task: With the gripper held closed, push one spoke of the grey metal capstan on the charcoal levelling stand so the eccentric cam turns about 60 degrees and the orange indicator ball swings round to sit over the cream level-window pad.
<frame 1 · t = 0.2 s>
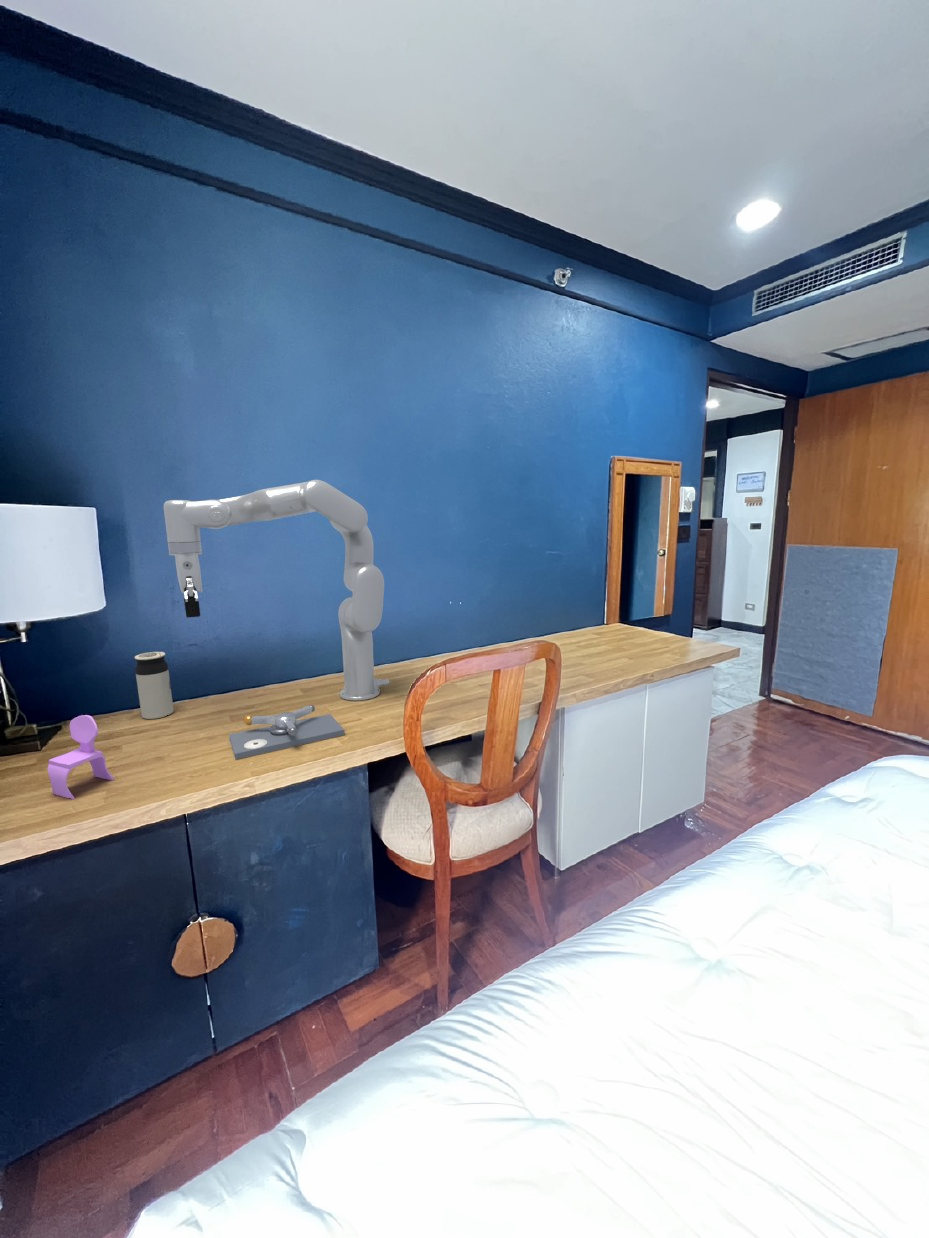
hand: (192, 614, 132), 31 cm above the table, tool pointing down, fingers open, 9 cm apart
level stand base: (287, 737, 128), on the table
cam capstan: (275, 722, 128), point 4 cm above the table, hinge at 0.0°
travel mug: (158, 715, 145), on the table
toy chair: (83, 788, 104), on the table
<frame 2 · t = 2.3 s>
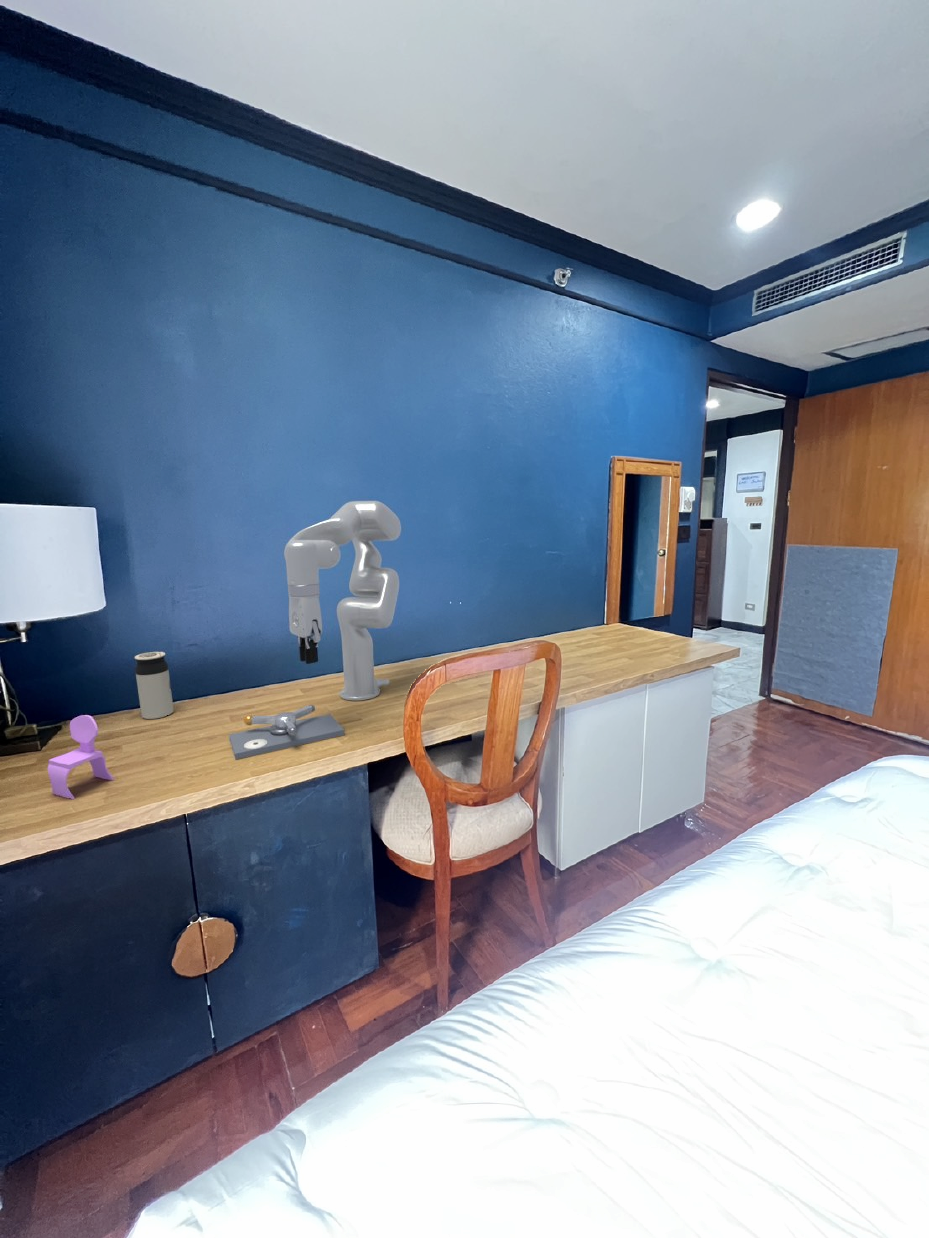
hand: (309, 661, 128), 19 cm above the table, tool pointing down, fingers closed
nothing on the table moved.
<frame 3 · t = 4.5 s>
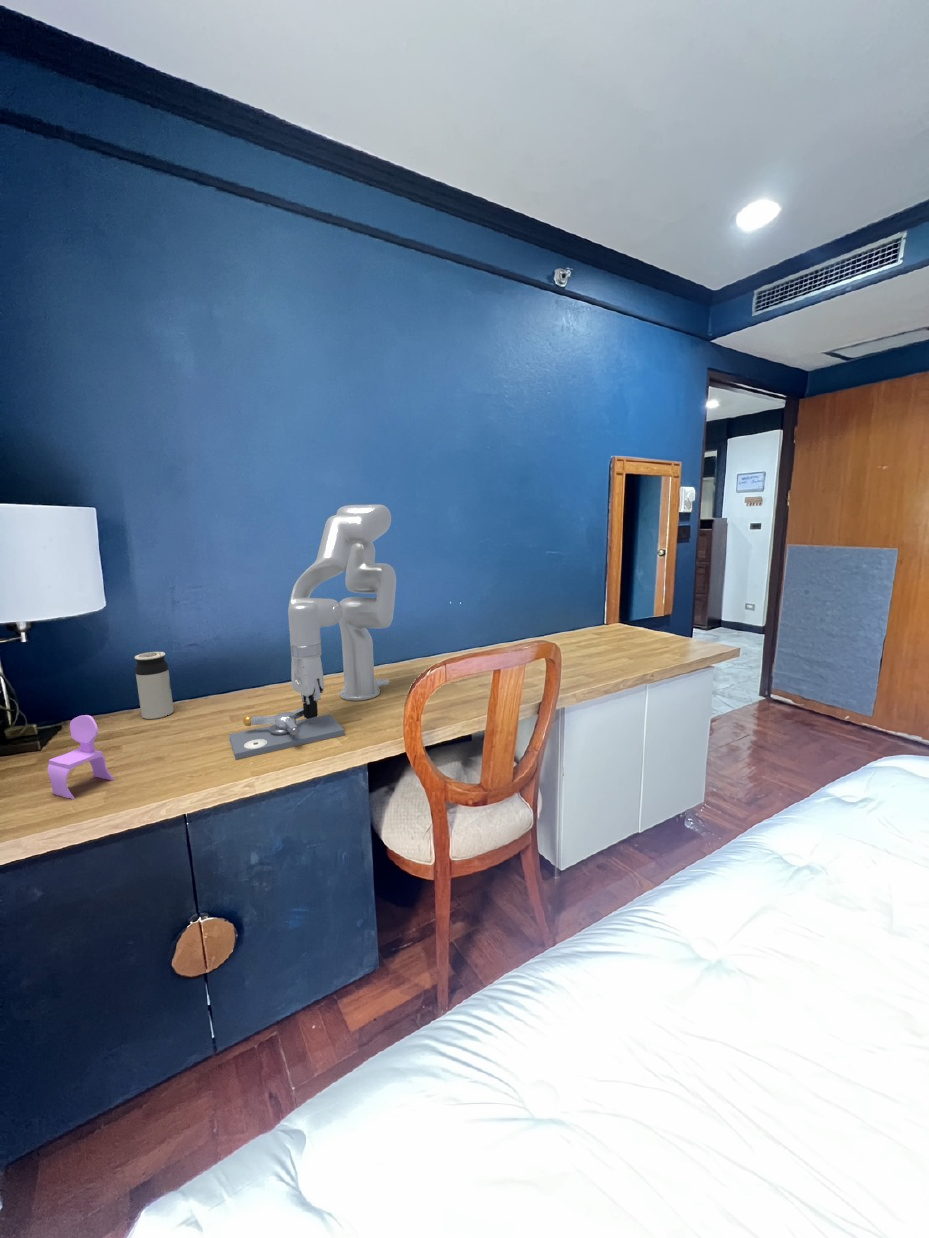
hand: (310, 716, 132), 3 cm above the table, tool pointing down, fingers closed
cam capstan: (275, 722, 128), point 4 cm above the table, hinge at 3.1°, touching gripper
everything else where it was.
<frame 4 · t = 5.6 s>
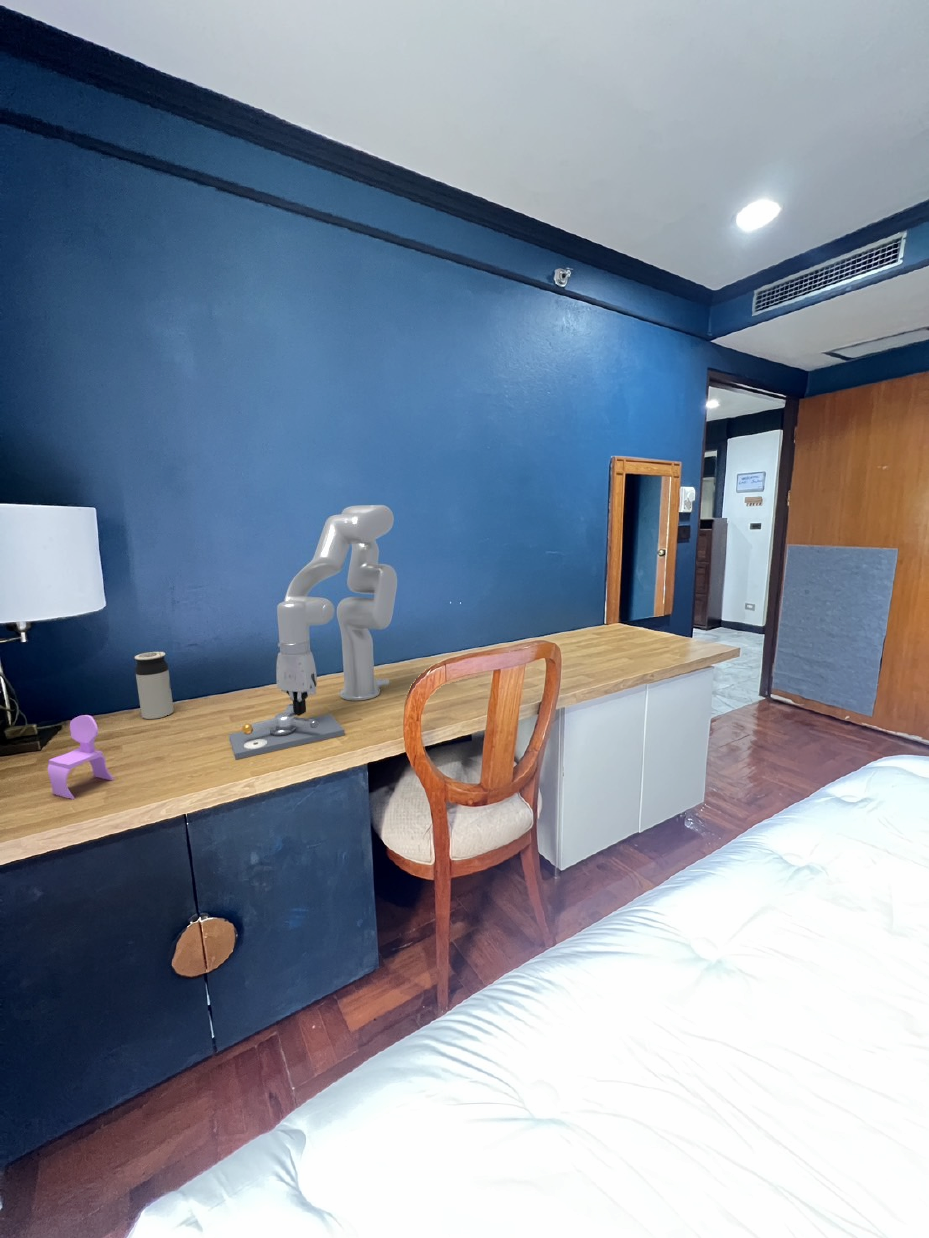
hand: (300, 713, 134), 4 cm above the table, tool pointing down, fingers closed
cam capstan: (275, 724, 126), point 4 cm above the table, hinge at 38.8°, touching gripper
everything else where it was.
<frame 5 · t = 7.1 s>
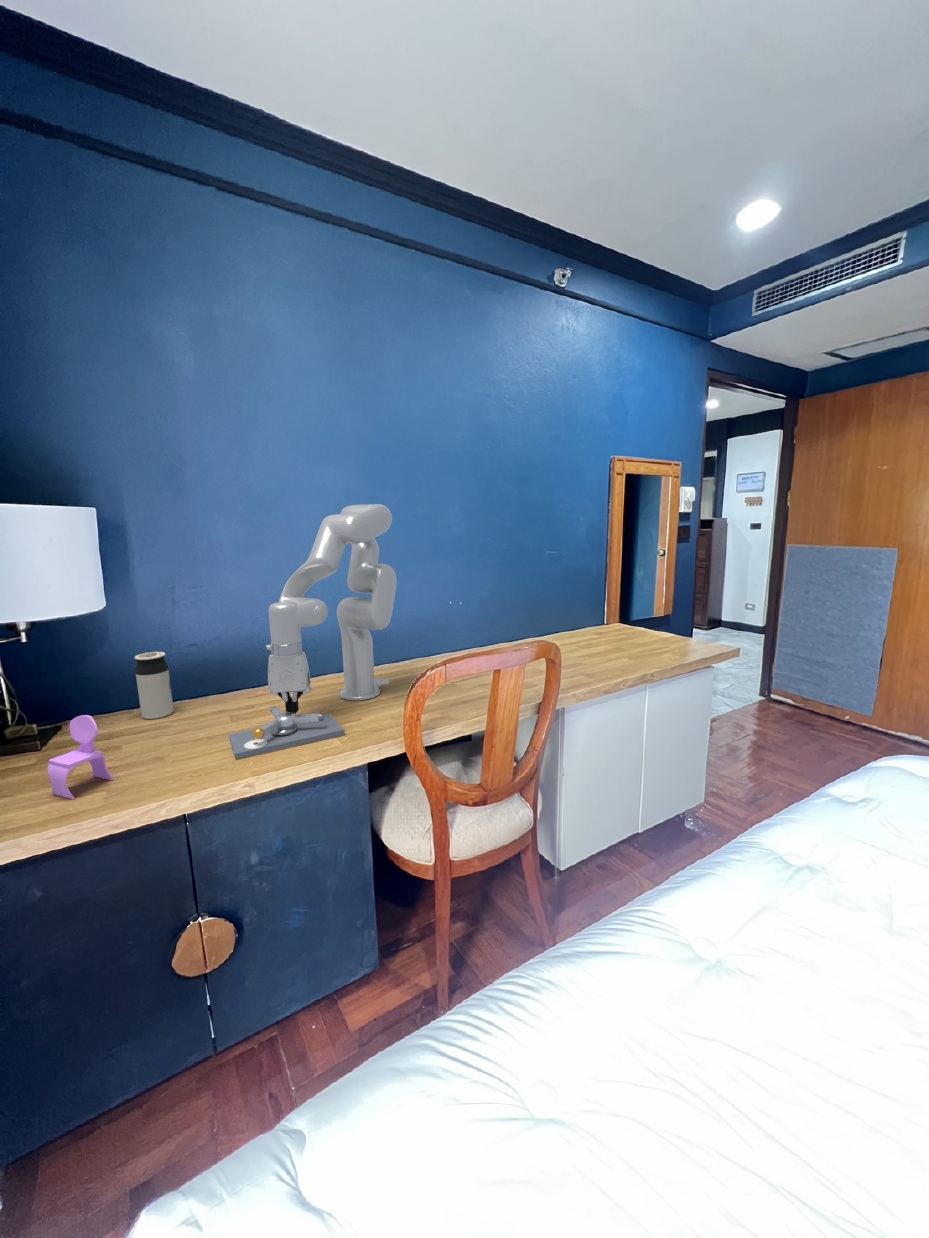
hand: (292, 713, 135), 3 cm above the table, tool pointing down, fingers closed
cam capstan: (278, 725, 126), point 4 cm above the table, hinge at 67.9°
everything else where it was.
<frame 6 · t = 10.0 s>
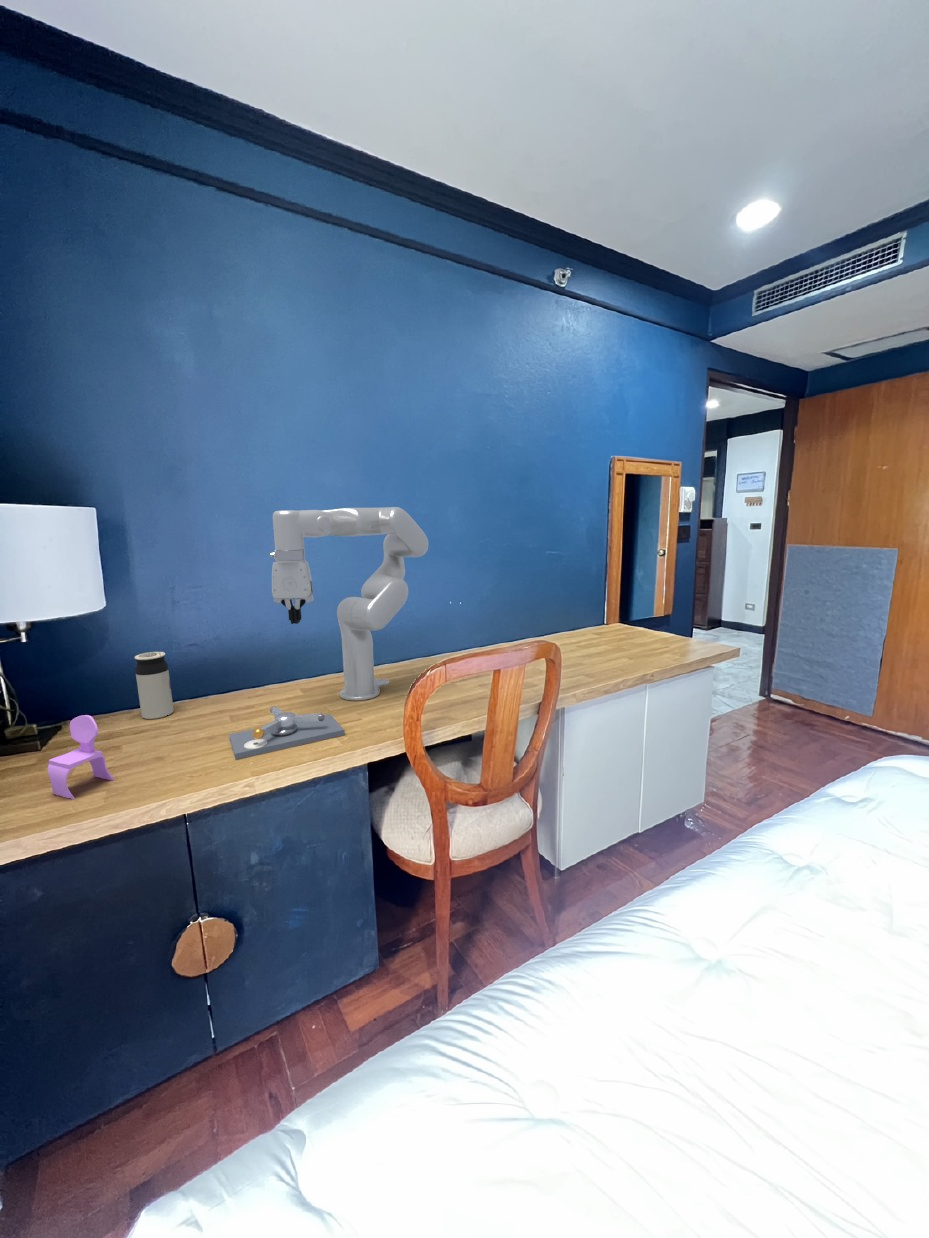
hand: (295, 622, 138), 27 cm above the table, tool pointing down, fingers closed
nothing on the table moved.
at the end: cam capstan at +68° (first picture: +0°) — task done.
